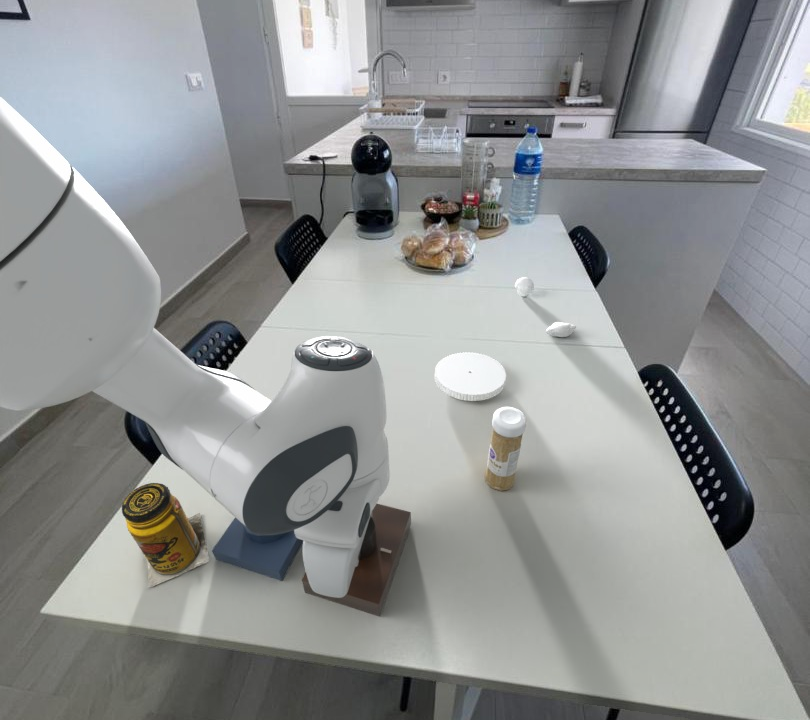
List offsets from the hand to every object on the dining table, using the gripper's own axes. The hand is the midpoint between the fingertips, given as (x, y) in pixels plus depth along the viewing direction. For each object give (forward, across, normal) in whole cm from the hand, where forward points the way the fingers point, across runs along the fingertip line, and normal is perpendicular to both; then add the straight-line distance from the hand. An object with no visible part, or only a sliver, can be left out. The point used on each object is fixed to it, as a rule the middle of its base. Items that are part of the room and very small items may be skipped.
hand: (358, 540), depth 57 cm
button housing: (+4, -1, -13) cm, 14 cm away
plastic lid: (+4, -40, +11) cm, 42 cm away
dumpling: (+4, -61, +30) cm, 68 cm away
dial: (+1, 0, 0) cm, 1 cm away
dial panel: (+4, 0, 0) cm, 4 cm away
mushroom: (+4, -80, +22) cm, 83 cm away
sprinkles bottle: (+4, -16, +18) cm, 24 cm away
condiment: (+4, +4, -25) cm, 26 cm away
